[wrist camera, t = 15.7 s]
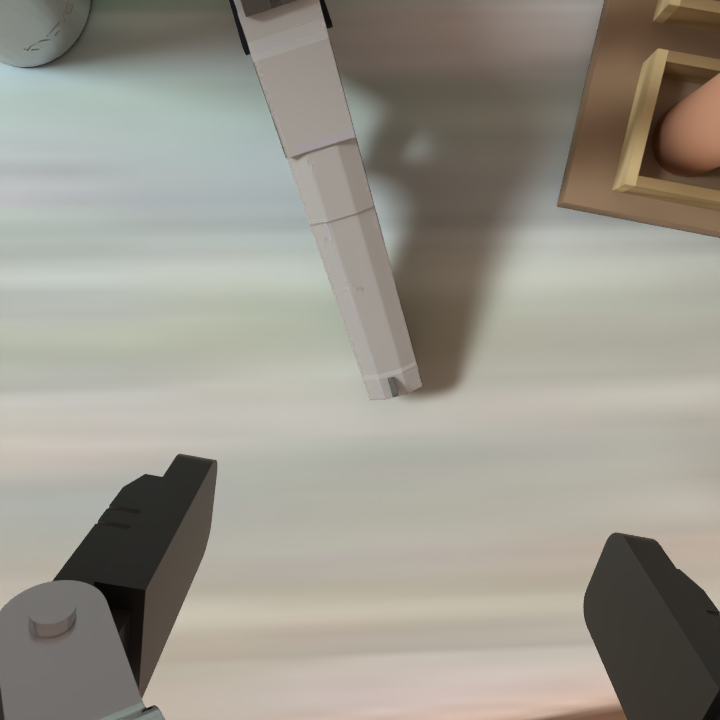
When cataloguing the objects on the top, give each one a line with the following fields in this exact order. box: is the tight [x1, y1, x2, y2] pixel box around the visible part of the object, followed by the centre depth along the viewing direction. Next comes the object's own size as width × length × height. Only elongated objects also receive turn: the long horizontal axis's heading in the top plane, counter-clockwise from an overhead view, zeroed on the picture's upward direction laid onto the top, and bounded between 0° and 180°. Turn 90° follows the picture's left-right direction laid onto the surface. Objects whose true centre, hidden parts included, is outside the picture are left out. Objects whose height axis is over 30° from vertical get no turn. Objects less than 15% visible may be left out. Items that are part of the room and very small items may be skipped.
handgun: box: [229, 0, 423, 400], centre depth 33 cm, size 4×28×15 cm, turn 16°
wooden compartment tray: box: [557, 0, 720, 238], centre depth 34 cm, size 20×13×4 cm, turn 169°
